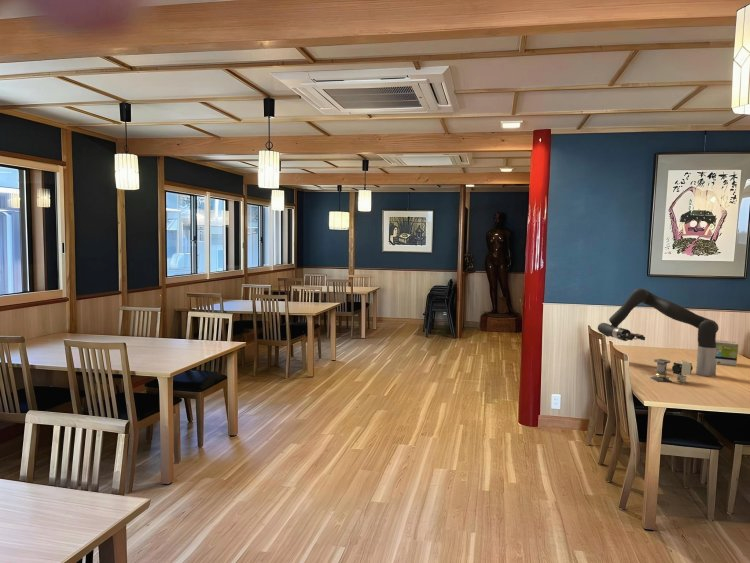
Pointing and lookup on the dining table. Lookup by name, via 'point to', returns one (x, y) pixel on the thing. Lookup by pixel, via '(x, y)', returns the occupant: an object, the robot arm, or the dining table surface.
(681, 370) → the pneumatic valve
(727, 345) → the tea box
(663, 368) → the grey column pedestal
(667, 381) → the pad
